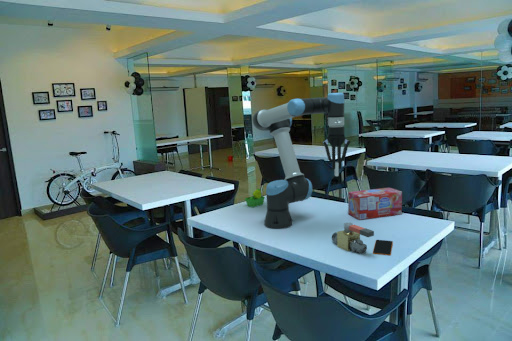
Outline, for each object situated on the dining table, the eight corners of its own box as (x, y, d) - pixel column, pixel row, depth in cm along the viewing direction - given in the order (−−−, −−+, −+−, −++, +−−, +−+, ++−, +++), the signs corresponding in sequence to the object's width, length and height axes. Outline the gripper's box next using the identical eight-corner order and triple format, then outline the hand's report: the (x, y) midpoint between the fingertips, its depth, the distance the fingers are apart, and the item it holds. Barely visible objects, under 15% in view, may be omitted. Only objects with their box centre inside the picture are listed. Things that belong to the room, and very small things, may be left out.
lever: (367, 241, 164) (367, 232, 163) (342, 231, 177) (342, 223, 176) (374, 239, 166) (374, 231, 165) (348, 229, 179) (348, 222, 178)
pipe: (329, 245, 184) (329, 228, 182) (341, 241, 187) (340, 225, 186) (356, 257, 168) (356, 239, 167) (368, 254, 172) (369, 235, 170)
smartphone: (372, 254, 169) (372, 252, 169) (375, 241, 185) (375, 239, 184) (391, 256, 167) (391, 254, 166) (393, 242, 182) (393, 240, 182)
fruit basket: (257, 202, 260) (256, 185, 258) (267, 204, 254) (266, 187, 251) (244, 206, 252) (243, 188, 250) (254, 208, 246) (253, 190, 244)
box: (389, 208, 233) (389, 186, 230) (402, 215, 221) (403, 191, 218) (347, 214, 226) (347, 191, 224) (358, 220, 214) (358, 196, 211)
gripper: (323, 127, 181) (324, 177, 186) (351, 126, 181) (351, 176, 185) (321, 126, 189) (321, 174, 193) (348, 125, 188) (348, 173, 193)
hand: (336, 175), depth 189 cm, fingers closed
